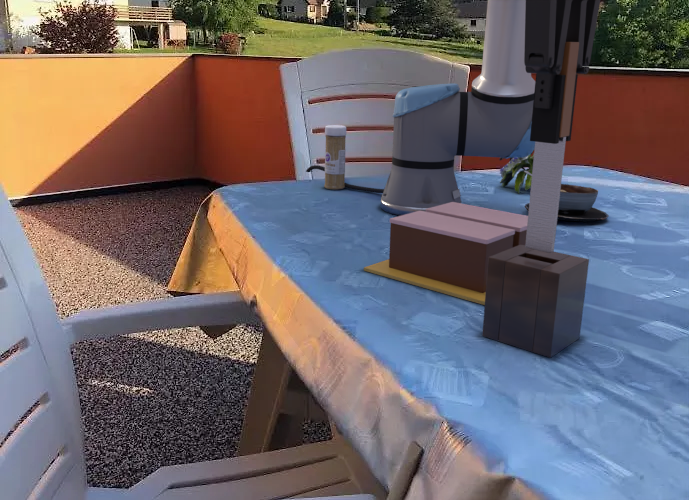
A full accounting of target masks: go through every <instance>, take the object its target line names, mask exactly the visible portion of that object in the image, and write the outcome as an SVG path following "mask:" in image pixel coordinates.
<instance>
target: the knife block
mask: <svg viewBox="0 0 689 500" xmlns="http://www.w3.org/2000/svg"><path fill="white" fill-rule="evenodd" d="M589 263H590V259H589V258H585V257H581V256H577V255H571V254H567V253H564V252H563V253H562V252H558V251H554V252H553V253H547V252H543V251H538V250H534V249H529V248H525V245H518V246H516V247H513V248H511V249H508V250H505V251H503V252H500V253H498V254H495V255H493V256H490V257H489V258H488V270H487V283H486V295H485V305H484V308H483V309H484V310H483V320H482V321H483V322H482V332H481V333H482V334H481V335H482V337H483V338H484V337H485V338H488V339H490V340H494V341H496V342H500V343H503V344H506V345H509V346H513V347H516V348H517V349H518V348H519V349H522V350H525V351H527V352H531V353H534V354H536V355H541V356H544V357H547V358H550V359H551V358H552V357H554V356H555V355H557V354H558V353H560V352H561V351H563V350H565V349H566V348H567V347H569V346H571V344H573V343H575V342H576V341H577V340H579V339H580V338H581V329H582V321H583V314H584V304H585V296H586V289H587V282H588V281H587V280H588V272H589Z"/></svg>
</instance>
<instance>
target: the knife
mask: <svg viewBox="0 0 689 500" xmlns="http://www.w3.org/2000/svg"><path fill="white" fill-rule="evenodd" d="M578 50H579V42H566V43H565V49H564V56H563V63H562V69H561V72H560V74H558V75H566V76H565V86H564V95H563V105H562V114H561V124H560V134H559V143H557V144H552V143H543V142H535V149H534V151H533V154H534V157H533V158H534V160H533V171H532V181H531V188H530V193H529V202H528V203H529V212H528V211H527V213H528V215H527V216H528V223H527V233H526V244H525V248H529V249H534V250H538V251H543V252H547V253H553V252H555V246H556V245H555V244H556V234H557V225H558V219H557V217H558V208H559V199H560V189H561V184H562V180H563V179H562V178H563V171H564V170H563V169H564V162H565V161H564V160H565V153H566V152H565V151H566V143H567V141H566V136H569V132H570V123H571V114H572V105H573V96H574V86H575V77H576V68H577V59H578ZM556 75H557V74H556Z"/></svg>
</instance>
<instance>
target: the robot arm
mask: <svg viewBox="0 0 689 500" xmlns="http://www.w3.org/2000/svg"><path fill="white" fill-rule="evenodd" d="M600 5H601V0H487V5H486V17H485V29H484V41H483V51H482V62H481V73H480V74H479V75H478V76H476V77H475V78H474V79H473V80H472V82H471V91H460V90H461V88H460V86H459V84H458V83H437V84H428V85H420V86H413V87H407V88H402V89H401V90H400V91H398V92H397V93H396V95H395V98H394V106H393V107H394V108H393V113H392V118H393V130H392V131H393V132H392V133H393V134H392V150H391V151H392V152H391V153H392V154H391V155H392V156H391V169H390V171H389V175H388V178H387V180H386V183H385V185H384V188H376V187H367V186H361V185H355V184H349V183H347V182H344V185H345V188H344V189H349V190H353V191H359V192H367V193H374V194H381V197H380V209H382V210H383V211H384V212H386V213H389V214H392V215H398V216H401V215H405V214H409V213H413V212H416V211H425V212H426V209H428V208H431V207H435V206H439V205H443V204H446V203H450V202H456V203H461V204H462V198H461V196H462V195H461V191H460V188H459V187H458V183H457V179H456V174H455V170H454V169H455V157H456V156H457V157H478V158H479V157H480V158H481V157H482V158H483V157H484V158H499V159H500V158H504V159H505V160H507V159H510V158H515V157H527V156H528V155H530V154H531V153H532V152H533V153H534V151H533V150H535V142H543V143H552V144H557V143H559V134H560V124H561V114H562V105H563V95H564V86H565V76H566V75H558V74H560V72H561V69H562V63H563V56H564V49H565V43H566V42H579V50H578V59H577V68H576V77H575V86H574V96H573V105H572V114H571V123H570V132H569V136H566V142H570V141H571V140H572V132H573V131H572V130H573V124H574V123H573V122H574V112H575V106H576V105H575V103H576V95H577V86H578V78H579V77H578V76H579V74H582V75H583V74H585V75H586V74H588V73H589V71H590V66H589V65H590V63H591V60H592V59H591V58H592V53H593V52H592V51H593V46H594V41H595V34H596V30H597V29H596V28H597V23H598V17H599V11H600ZM532 74H535V79H534V78H533V76H532ZM556 74H557V75H556ZM571 142H572V141H571ZM533 153H532V154H533ZM532 154H531V155H532ZM313 170H319V171H322V172H325V166H322V165H319V164H318V165H311V166H308V168H306V170H305V172H307V173H310V172H311V171H313Z"/></svg>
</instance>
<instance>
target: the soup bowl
mask: <svg viewBox="0 0 689 500" xmlns="http://www.w3.org/2000/svg"><path fill="white" fill-rule="evenodd" d="M524 172H525V173H527V174H529V175H531V176H532V174H531V173H529V172H528V171H524ZM598 194H599V189H595V188H593V187H588V186H581V185H575V184H568V183H561V189H560V199H559V208H558V217H557V220H558V221H560V220H561V221H568V222H593V221H600V220H606V219H607V218H609V214H608V213H607V212H606V211H603V210H601V209H598V208H597V207H593V206H594V204H595V202H596V200H597V198H598V196H599V195H598ZM524 208H525V210H526V211H527V213H528V212H529V202H527V203H526V204H524Z"/></svg>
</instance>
